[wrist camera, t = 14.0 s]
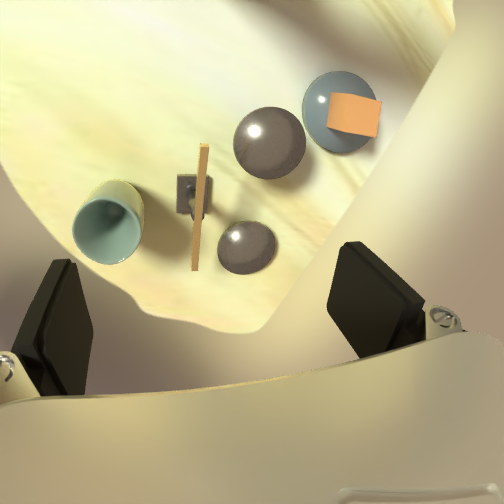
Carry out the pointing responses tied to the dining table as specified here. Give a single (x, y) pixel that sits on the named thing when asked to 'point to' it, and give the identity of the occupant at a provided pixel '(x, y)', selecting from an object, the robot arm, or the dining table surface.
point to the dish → (318, 109)
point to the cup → (110, 222)
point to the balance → (257, 164)
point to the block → (354, 114)
